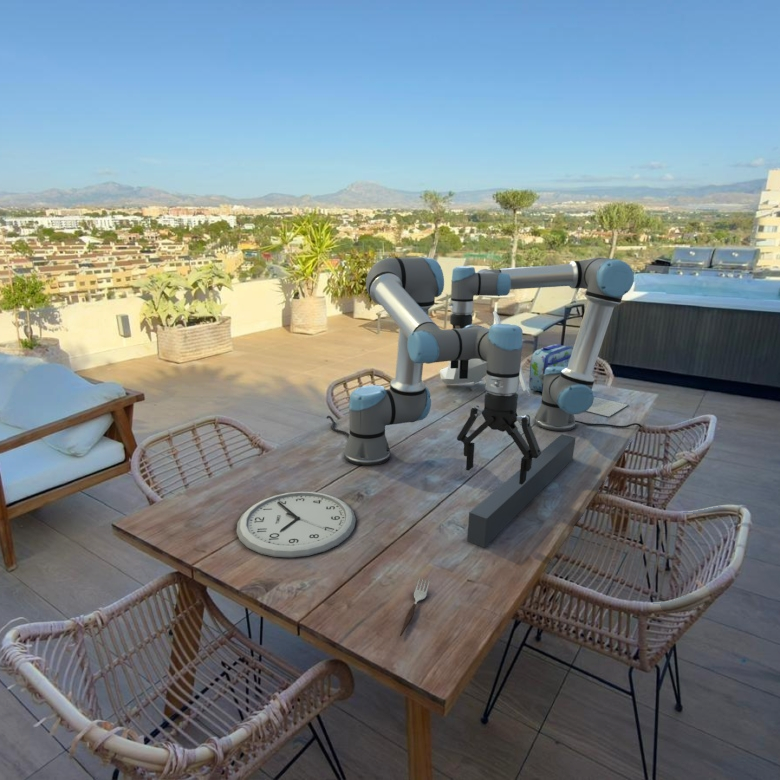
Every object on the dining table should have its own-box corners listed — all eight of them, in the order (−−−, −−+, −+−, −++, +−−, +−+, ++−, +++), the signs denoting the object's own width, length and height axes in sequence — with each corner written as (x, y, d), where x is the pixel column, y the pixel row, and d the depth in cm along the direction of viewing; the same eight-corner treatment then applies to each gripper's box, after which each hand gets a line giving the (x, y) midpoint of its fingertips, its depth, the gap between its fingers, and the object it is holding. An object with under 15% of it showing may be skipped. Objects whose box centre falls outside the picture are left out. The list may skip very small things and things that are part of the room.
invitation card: (608, 416, 214) (573, 407, 224) (608, 416, 214) (573, 408, 224) (628, 404, 229) (594, 396, 238) (628, 405, 229) (594, 397, 238)
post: (558, 455, 177) (561, 433, 174) (572, 459, 174) (575, 437, 172) (467, 540, 128) (469, 512, 125) (484, 547, 125) (486, 518, 123)
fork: (393, 636, 97) (393, 627, 97) (418, 584, 112) (419, 576, 111) (406, 640, 96) (407, 631, 96) (430, 587, 111) (430, 579, 110)
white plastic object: (461, 429, 252) (437, 405, 227) (444, 352, 274) (420, 323, 250) (535, 404, 240) (518, 377, 215) (510, 326, 262) (492, 293, 237)
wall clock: (357, 549, 121) (224, 553, 118) (357, 555, 121) (224, 559, 118) (354, 487, 149) (247, 489, 147) (354, 492, 150) (247, 495, 147)
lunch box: (545, 397, 238) (550, 352, 231) (524, 391, 245) (529, 348, 239) (572, 386, 255) (578, 344, 249) (552, 381, 262) (557, 340, 256)
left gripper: (445, 387, 125) (442, 468, 131) (550, 405, 112) (541, 494, 118) (459, 380, 131) (455, 458, 137) (560, 396, 118) (551, 482, 124)
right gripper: (443, 307, 190) (441, 364, 196) (459, 319, 166) (456, 383, 172) (463, 307, 190) (460, 364, 197) (482, 319, 167) (478, 382, 173)
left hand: (495, 475), depth 127 cm, fingers open, 13 cm apart
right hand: (458, 373), depth 185 cm, fingers open, 13 cm apart
